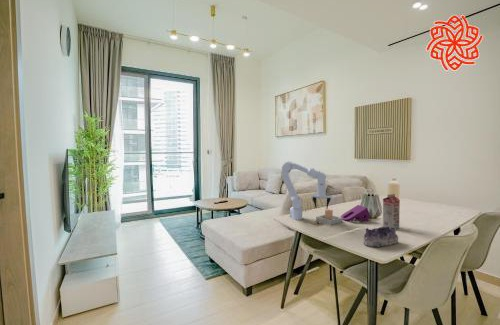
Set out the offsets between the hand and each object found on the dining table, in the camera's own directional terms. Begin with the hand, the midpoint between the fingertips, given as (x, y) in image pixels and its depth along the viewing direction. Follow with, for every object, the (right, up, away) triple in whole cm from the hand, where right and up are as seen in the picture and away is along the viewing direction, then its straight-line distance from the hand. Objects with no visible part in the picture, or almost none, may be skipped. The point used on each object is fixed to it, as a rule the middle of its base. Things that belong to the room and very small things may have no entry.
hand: (321, 208), depth 169 cm
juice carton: (+41, -10, -15) cm, 45 cm away
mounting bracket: (+24, -10, +2) cm, 26 cm away
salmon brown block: (+5, -9, -1) cm, 10 cm away
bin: (+5, -10, -1) cm, 11 cm away
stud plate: (-5, -10, -6) cm, 13 cm away
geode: (+20, -12, -39) cm, 46 cm away
